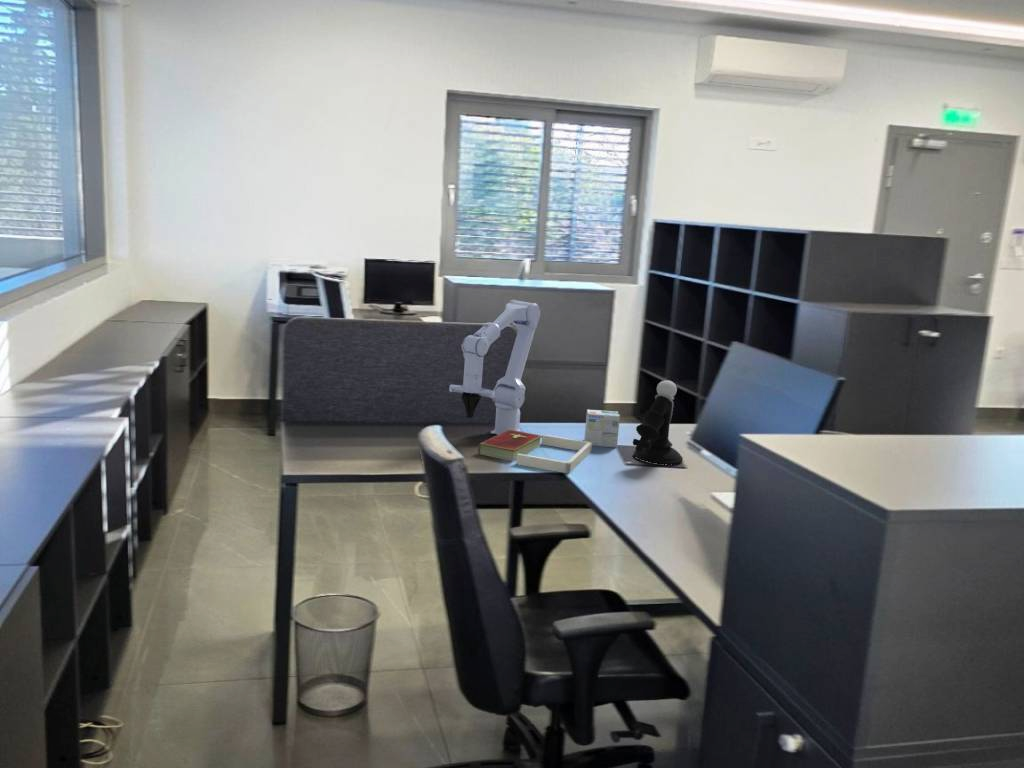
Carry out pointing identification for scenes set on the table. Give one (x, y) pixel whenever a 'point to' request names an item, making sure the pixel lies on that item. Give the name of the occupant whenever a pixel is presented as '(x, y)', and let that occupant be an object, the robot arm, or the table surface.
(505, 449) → the hardcover book
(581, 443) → the document bay
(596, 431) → the light bulb box
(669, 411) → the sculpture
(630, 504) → the table surface
